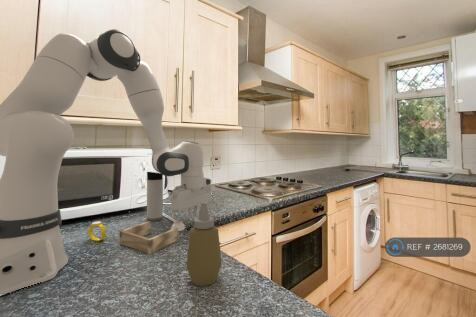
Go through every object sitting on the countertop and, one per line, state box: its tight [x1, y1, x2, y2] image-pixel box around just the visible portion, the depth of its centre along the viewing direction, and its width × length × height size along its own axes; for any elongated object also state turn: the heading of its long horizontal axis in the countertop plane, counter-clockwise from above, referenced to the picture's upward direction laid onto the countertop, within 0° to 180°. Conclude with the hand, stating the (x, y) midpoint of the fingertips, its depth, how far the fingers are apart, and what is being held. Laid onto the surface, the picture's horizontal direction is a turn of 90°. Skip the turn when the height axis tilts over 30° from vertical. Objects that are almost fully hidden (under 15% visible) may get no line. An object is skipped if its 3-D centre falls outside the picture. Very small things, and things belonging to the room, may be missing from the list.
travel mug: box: [146, 171, 164, 222], centre depth 97 cm, size 6×7×20 cm
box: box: [119, 220, 179, 255], centre depth 75 cm, size 11×14×4 cm
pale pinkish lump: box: [170, 220, 186, 232], centre depth 86 cm, size 5×3×5 cm
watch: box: [87, 220, 107, 242], centre depth 76 cm, size 6×3×6 cm, turn 73°
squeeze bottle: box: [186, 202, 222, 287], centre depth 54 cm, size 8×8×18 cm
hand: (193, 216), depth 93 cm, fingers closed
